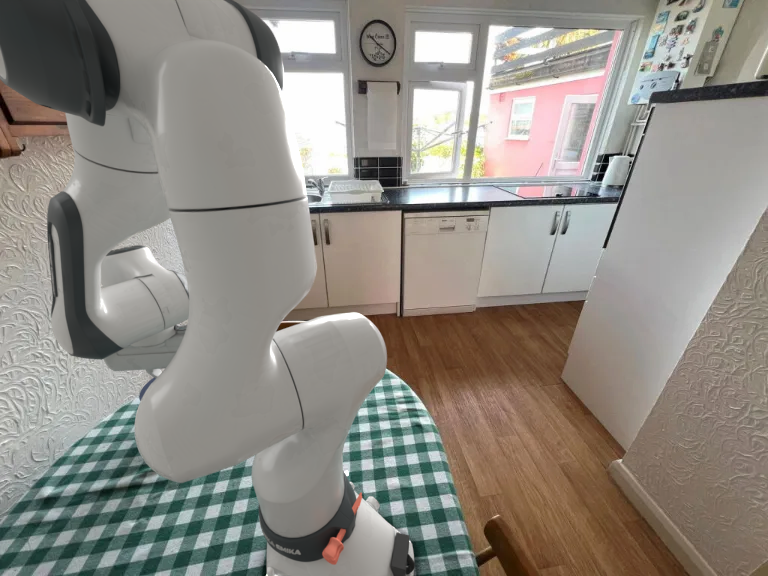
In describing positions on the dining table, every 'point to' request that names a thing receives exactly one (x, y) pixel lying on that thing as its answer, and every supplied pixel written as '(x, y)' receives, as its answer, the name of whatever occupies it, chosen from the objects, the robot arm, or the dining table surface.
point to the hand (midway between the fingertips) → (173, 381)
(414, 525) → the dining table surface
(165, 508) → the dining table surface
